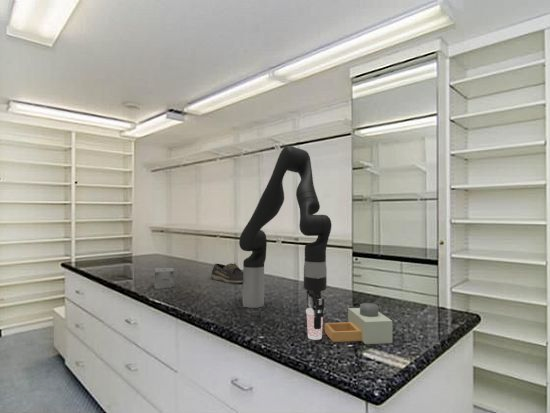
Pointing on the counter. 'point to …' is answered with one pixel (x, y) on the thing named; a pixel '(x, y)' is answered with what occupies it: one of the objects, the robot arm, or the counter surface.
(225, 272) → the boat shoe
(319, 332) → the beverage cup
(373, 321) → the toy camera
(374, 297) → the counter surface
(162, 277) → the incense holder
